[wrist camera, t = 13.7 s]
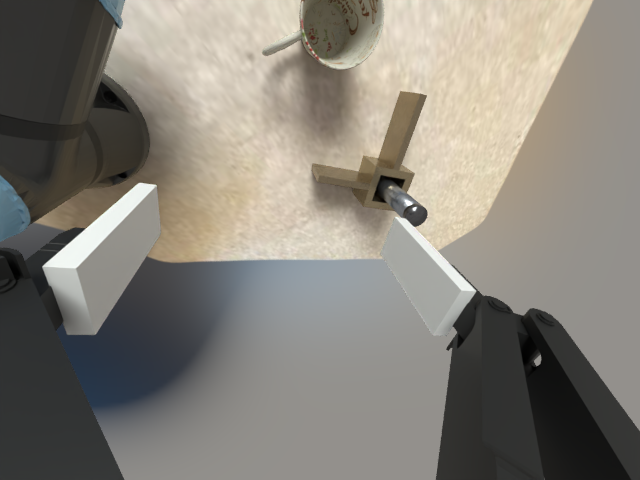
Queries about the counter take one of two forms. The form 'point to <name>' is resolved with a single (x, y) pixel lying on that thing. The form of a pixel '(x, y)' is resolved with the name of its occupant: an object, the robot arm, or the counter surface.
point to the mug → (336, 31)
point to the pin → (401, 201)
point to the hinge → (381, 157)
